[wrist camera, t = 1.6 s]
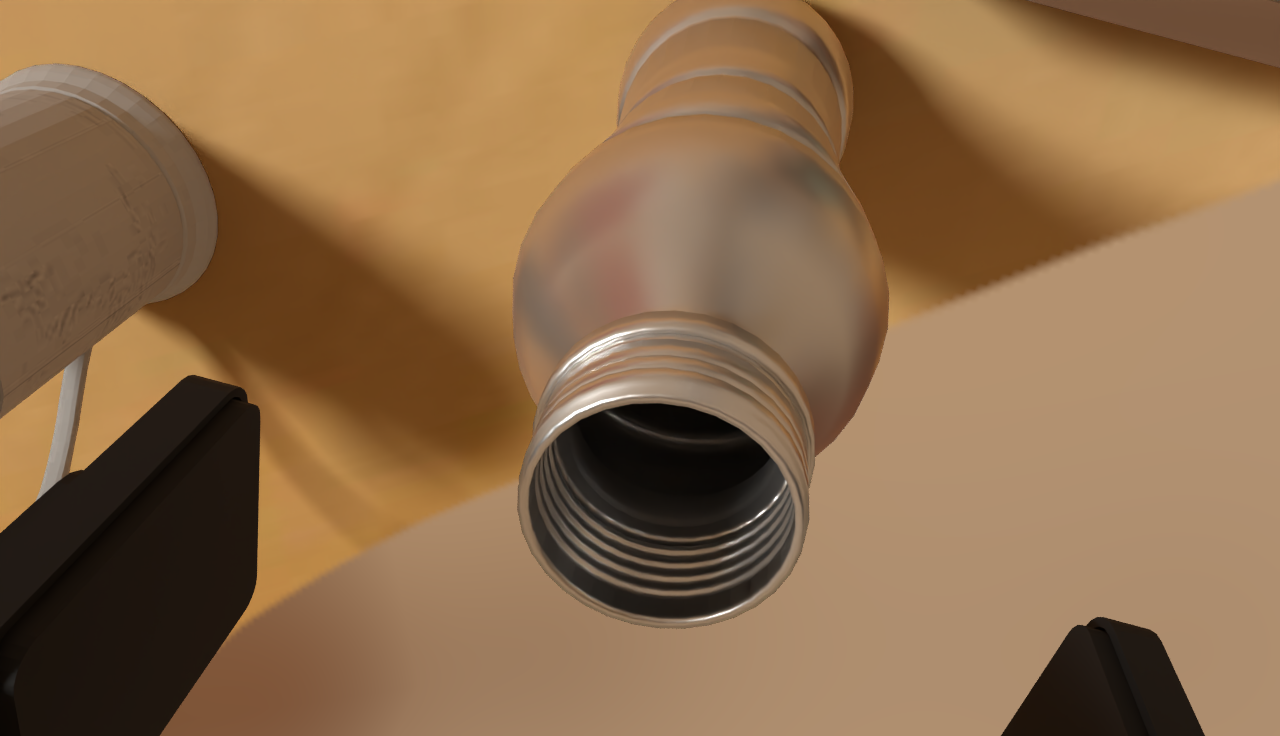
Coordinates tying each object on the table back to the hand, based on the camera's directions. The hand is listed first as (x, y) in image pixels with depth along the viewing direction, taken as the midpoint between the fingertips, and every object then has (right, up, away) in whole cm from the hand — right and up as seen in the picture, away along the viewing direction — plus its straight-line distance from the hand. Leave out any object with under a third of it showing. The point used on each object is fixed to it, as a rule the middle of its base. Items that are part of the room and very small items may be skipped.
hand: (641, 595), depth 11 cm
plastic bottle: (+3, +11, +18) cm, 21 cm away
